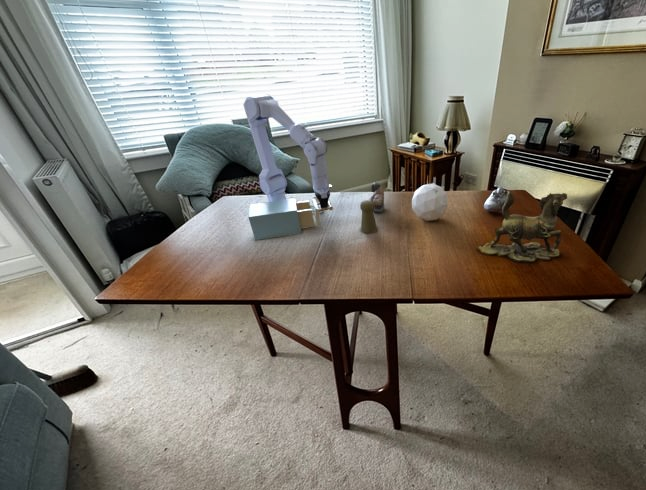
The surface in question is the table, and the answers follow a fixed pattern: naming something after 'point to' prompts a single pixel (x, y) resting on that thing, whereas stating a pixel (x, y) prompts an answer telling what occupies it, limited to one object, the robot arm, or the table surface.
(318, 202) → the pacifier
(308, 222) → the drawer
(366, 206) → the cork
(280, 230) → the cabinet
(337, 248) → the table surface
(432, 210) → the geodesic sphere
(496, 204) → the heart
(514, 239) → the figurine
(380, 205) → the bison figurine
